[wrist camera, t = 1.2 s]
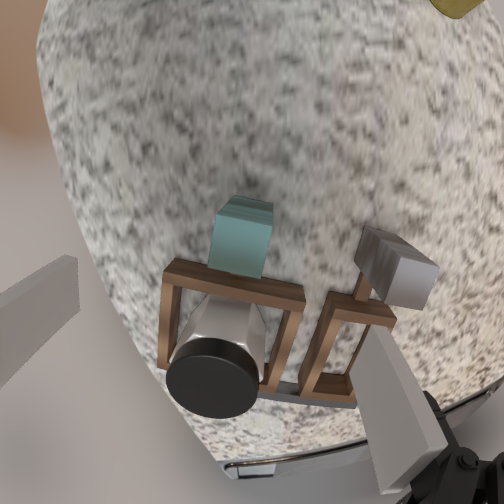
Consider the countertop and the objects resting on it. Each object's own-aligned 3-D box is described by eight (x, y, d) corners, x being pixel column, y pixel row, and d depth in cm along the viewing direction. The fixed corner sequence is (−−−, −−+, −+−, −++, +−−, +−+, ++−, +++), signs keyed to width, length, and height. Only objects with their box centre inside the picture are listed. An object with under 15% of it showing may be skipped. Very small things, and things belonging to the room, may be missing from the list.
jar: (233, 360, 37) (219, 432, 25) (181, 324, 36) (148, 389, 24) (280, 315, 34) (281, 387, 23) (223, 273, 33) (199, 333, 22)
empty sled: (350, 222, 30) (382, 252, 21) (408, 238, 30) (454, 271, 21) (297, 376, 37) (302, 434, 27) (348, 382, 37) (363, 437, 27)
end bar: (178, 359, 37) (173, 370, 35) (355, 390, 37) (359, 401, 35) (178, 367, 38) (173, 378, 36) (351, 397, 38) (354, 408, 36)
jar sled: (185, 186, 30) (147, 200, 21) (322, 215, 30) (344, 242, 21) (166, 348, 37) (140, 400, 27) (274, 372, 37) (273, 431, 27)
